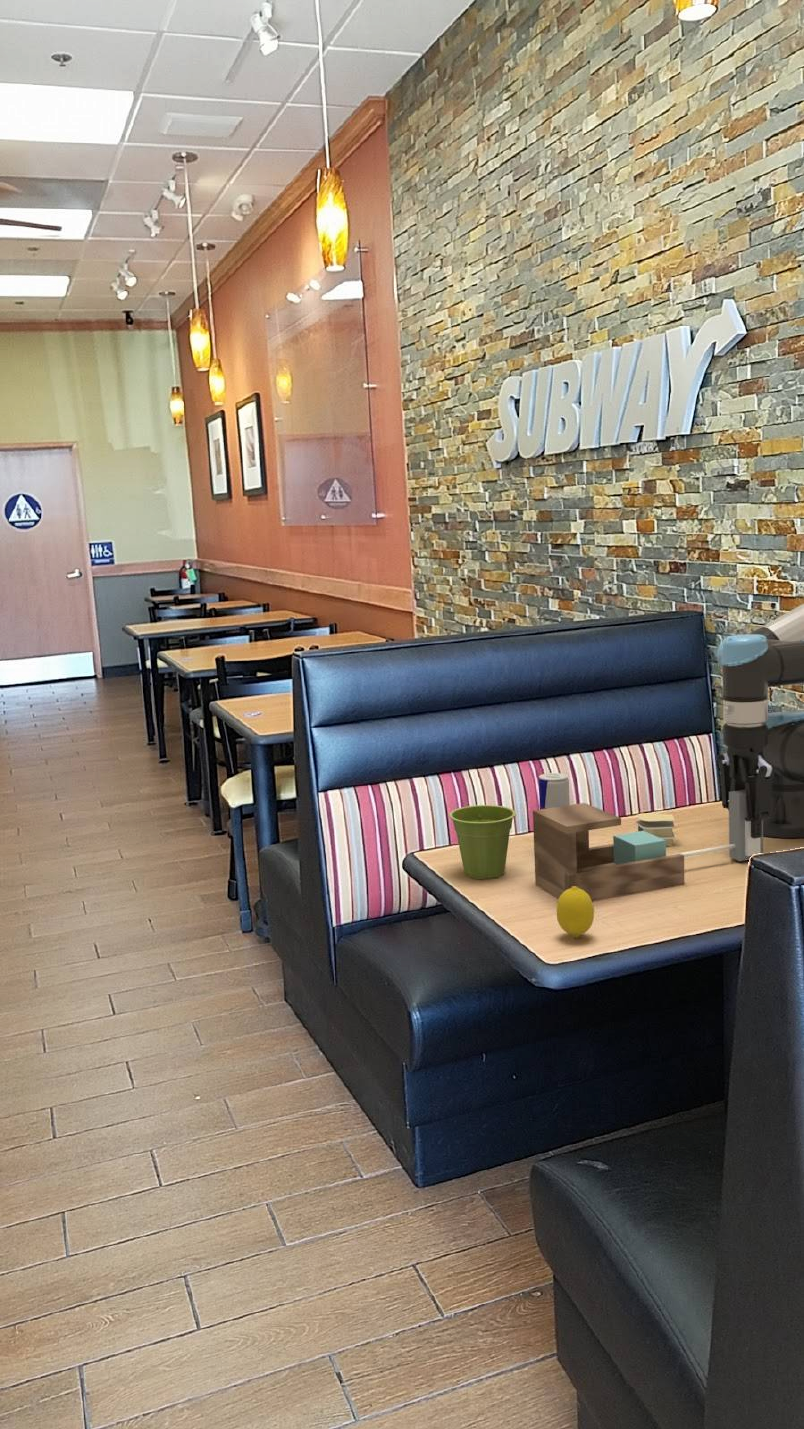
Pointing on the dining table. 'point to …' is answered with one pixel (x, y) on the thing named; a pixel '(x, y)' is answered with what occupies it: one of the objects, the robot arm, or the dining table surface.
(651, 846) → the pull block
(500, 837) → the plant pot
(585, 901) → the lemon
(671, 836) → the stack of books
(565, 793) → the beverage can
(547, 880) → the walnut shelf
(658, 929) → the dining table surface
